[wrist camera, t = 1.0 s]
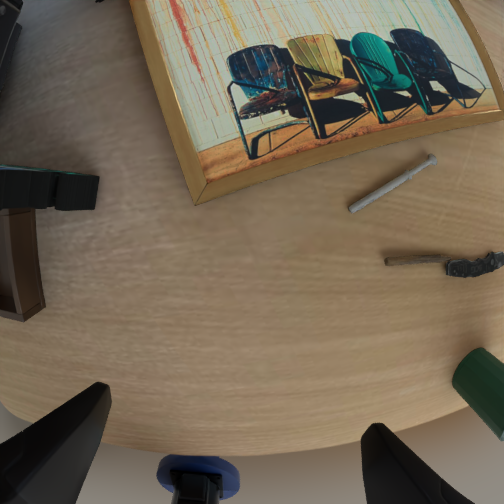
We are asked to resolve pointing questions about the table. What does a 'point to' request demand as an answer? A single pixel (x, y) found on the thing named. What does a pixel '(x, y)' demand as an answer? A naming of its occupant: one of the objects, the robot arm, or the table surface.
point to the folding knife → (475, 265)
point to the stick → (415, 259)
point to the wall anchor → (392, 184)
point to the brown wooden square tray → (19, 265)
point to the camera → (8, 33)
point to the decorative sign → (46, 189)
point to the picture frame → (308, 81)
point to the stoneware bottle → (483, 387)
